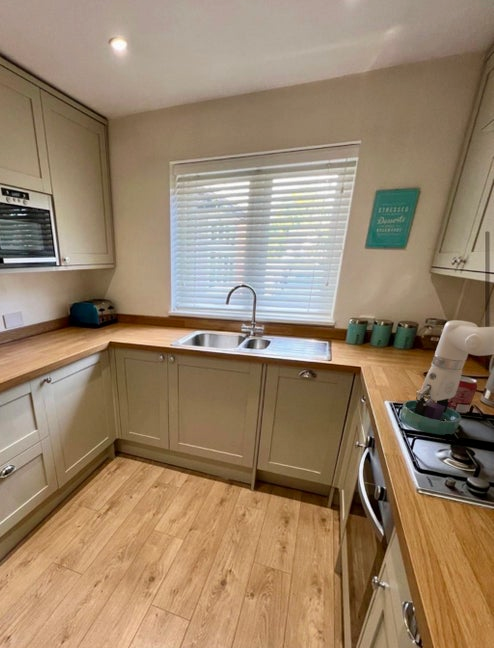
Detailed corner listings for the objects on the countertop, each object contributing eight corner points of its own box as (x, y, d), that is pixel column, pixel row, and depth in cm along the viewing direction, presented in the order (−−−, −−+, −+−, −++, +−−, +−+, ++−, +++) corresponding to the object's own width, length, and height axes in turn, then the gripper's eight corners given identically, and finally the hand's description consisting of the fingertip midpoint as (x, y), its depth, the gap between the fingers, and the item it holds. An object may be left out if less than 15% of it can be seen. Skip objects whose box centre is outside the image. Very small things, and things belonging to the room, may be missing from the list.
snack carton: (424, 418, 109) (431, 400, 107) (438, 424, 105) (445, 406, 103) (415, 420, 108) (421, 402, 105) (429, 427, 104) (435, 408, 101)
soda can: (469, 416, 112) (483, 384, 107) (446, 413, 114) (458, 381, 110) (462, 408, 118) (474, 377, 113) (440, 405, 120) (451, 374, 115)
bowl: (439, 415, 112) (443, 402, 111) (466, 438, 99) (472, 424, 97) (391, 411, 115) (395, 398, 113) (412, 433, 101) (417, 419, 99)
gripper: (441, 370, 93) (422, 422, 99) (480, 363, 98) (459, 414, 105) (415, 361, 99) (399, 411, 106) (453, 356, 105) (435, 404, 112)
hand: (429, 412), depth 105 cm, fingers open, 9 cm apart
